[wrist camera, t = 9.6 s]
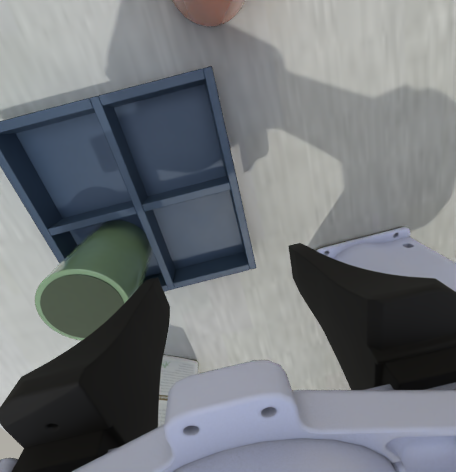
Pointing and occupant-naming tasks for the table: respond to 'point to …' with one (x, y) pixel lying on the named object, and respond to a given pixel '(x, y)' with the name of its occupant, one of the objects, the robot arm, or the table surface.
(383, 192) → the table surface
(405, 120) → the table surface
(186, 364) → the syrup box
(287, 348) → the table surface
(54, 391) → the robot arm
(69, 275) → the sage cup
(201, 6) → the terracotta cup
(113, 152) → the cup rack
